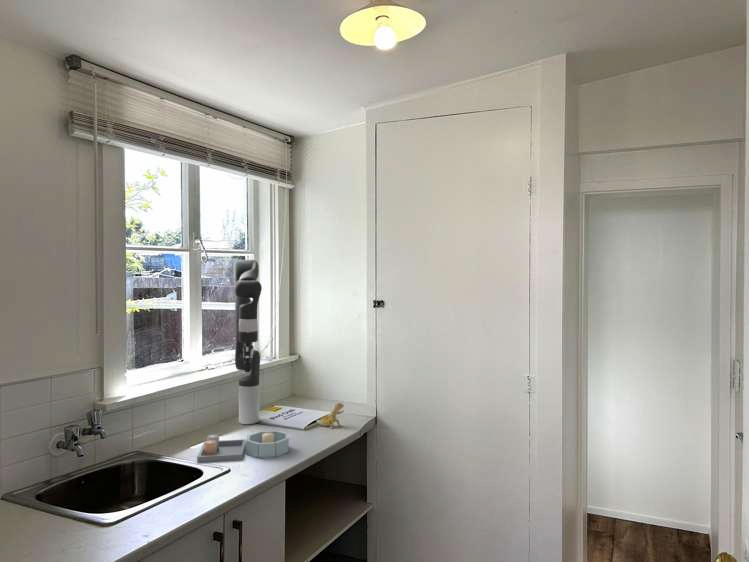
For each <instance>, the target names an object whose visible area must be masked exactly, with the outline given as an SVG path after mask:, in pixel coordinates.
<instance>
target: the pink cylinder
mask: <svg viewBox="0 0 749 562" xmlns="http://www.w3.org/2000/svg"><path fill="white" fill-rule="evenodd" d="M206 438H207V439H206V441H209V440H215V441H217V451H219V441H220V435H219V434H209V435H207V437H206Z"/></svg>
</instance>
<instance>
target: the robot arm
mask: <svg viewBox="0 0 749 562" xmlns="http://www.w3.org/2000/svg"><path fill="white" fill-rule="evenodd" d="M259 269H260V268H259V264H258V261H257V260H255V259H236V260H235V261H234V263H233V280H234V282H233V283H234V294H235V296H234V297H235V300H234V301H235V302H234V304H235V305H234V308H235V309H234V311H235V312H234V314H235V315H234V316H235V317H234V321H235V349H234V350H235V352H234V355H235V356H234V363H235V368H236V369H237V370H238V371H244V372H245V373H249V374H248V375H247V376H243V377H240V378H239V379H238V424H242V425H252V424H256V423H257V424H258V421H259V422H260V375H261V374H260V371H261V369H260V368H261V354H260V352H259V351H258V350H255V347H254V343H257V342H258V341H259V334H258V333H259V323H258V304H259V300H260V297H261V293H262V289H263V287H262V284H261V282H260V281H258V278H259V272H260V271H259Z"/></svg>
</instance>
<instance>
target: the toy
mask: <svg viewBox="0 0 749 562" xmlns="http://www.w3.org/2000/svg"><path fill="white" fill-rule="evenodd" d="M344 407H345V404H343V403H342V402H338V403H336V404H335V406H334V408H333V410H332V411H331V412H330V415H329V416H324V417H322V418H320V419H317V420H316V423H317V424H318V425H319V426H321V427H329V428H330V430H332V429H334V427H333V426H334V423H337V426H338V427H342V425H341V424H340V420H339V419H337V414H338V415H339V414H340V415H341V414H342V413H344V412H345V411H344V410H342V409H343V408H344ZM340 410H341V411H340Z"/></svg>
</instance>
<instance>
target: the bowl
mask: <svg viewBox="0 0 749 562" xmlns="http://www.w3.org/2000/svg"><path fill="white" fill-rule="evenodd" d="M263 433H273V434H274V442H268V443H262V434H263ZM289 435H290V434H289V433H288V432H285V431H281V430H276V429H274V430H260V431H256V432H253V433H250V434H248V435H247V436H246V446H245V453H246V455H248V456H250V457H253V458H260V459H266V458H267V459H268V458H275V457H276V458H277V457H281V456H283V455H285V454H287V453H288V452H289V451H290V446H289V445H290V444H289V439H290V437H289Z"/></svg>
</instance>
